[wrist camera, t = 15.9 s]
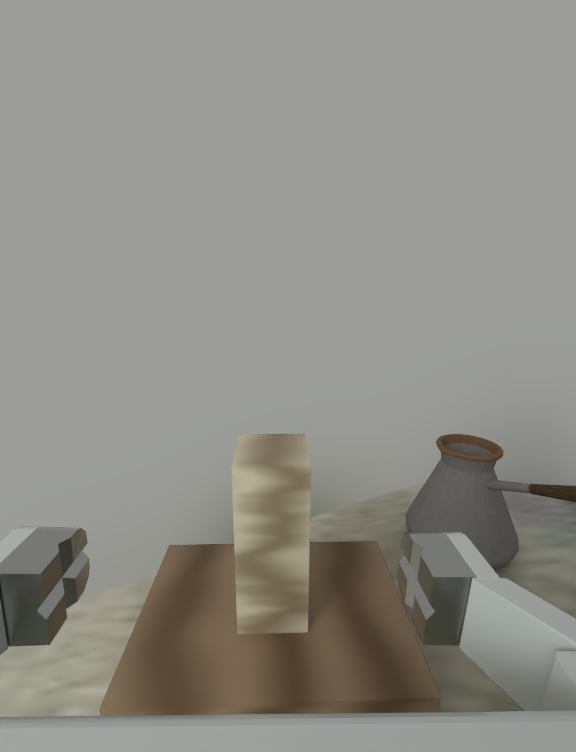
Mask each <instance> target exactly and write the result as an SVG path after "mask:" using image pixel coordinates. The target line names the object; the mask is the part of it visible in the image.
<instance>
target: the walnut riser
mask: <svg viewBox="0 0 576 752" xmlns="http://www.w3.org/2000/svg"><path fill="white" fill-rule="evenodd" d="M440 698H441V697H440V695H439V692H438V690H437V688H436V685H435V683H434V680H433V678H432V675H431V673H430V670H429V668H428V666H427V663H426V661H425V658H424V656H423V653H422V651H421V648H420V646H419V644H418V641H417V639H416V636H415V634H414V631H413V629H412V626H411V624H410V622H409V619H408V617H407V614H406V612H405V609H404V607H403V604H402V602H401V600H400V597H399V595H398V592H397V590H396V587H395V585H394V582H393V580H392V578H391V575H390V573H389V570H388V568H387V565H386V563H385V560H384V558H383V556H382V553H381V551H380V548H379V546H378V543H377V541H360V542H310V547H309V603H308V632H304V633H266V634H237V610H236V581H235V551H234V544H208V545H207V544H203V545H169V548H168V550H167V552H166V555H165V557H164V559H163V562H162V564H161V566H160V569H159V571H158V573H157V576H156V578H155V580H154V583H153V585H152V587H151V590H150V592H149V594H148V597H147V599H146V601H145V604H144V606H143V608H142V611H141V613H140V615H139V618H138V620H137V622H136V625H135V627H134V629H133V632H132V634H131V636H130V639H129V641H128V643H127V646H126V648H125V650H124V653H123V655H122V657H121V660H120V662H119V664H118V667H117V669H116V671H115V674H114V676H113V678H112V681H111V683H110V685H109V688H108V690H107V692H106V695H105V697H104V699H103V702H102V704H101V706H100V716H135V715H222V714H314V713H421V712H439V706H440Z"/></svg>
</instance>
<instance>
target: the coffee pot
mask: <svg viewBox="0 0 576 752" xmlns="http://www.w3.org/2000/svg"><path fill="white" fill-rule="evenodd" d="M436 443H437V446H438V448H439V449H440V451H441V457H442V458H441V460H440V461H439V463H438V464H437V466H436V467H435V469H434V470H433V472H432V473H431V475H430V476H429V478H428V480H427V481H426V483H425V484H424V486H423V487H422V489H421V490H420V492H419V493H418V495H417V497H416V498H415V500H414V501H413V503H412V504H411V506H410V508H409V509H408V511H407V513H406V525H407V527H408V530H409V532H410V533H442V532H461V533H463V534H465V535H466V536H467V537H468V539H469V540H470V541H471V542H472V543H473V545H474V546H475V547H476V548H477V550H478V551H479V552H480V553H481V555H482V556H483V557H484V558H485V560H486V561H487V562H488V563H489V565H490V566H491V567H492V568H493V570H497V569H500V568H502V567H504V566H505V565H507V564H508V563H509V562H510V561H511V560H512V559H513V558H514V557H515V555H516V553H517V552H518V538H517V535H516V532H515V529H514V526H513V523H512V520H511V517H510V514H509V512H508V509H507V506H506V503H505V500H504V497H503V494H502V491H501V490H504V491H514V492H524V493H531V494H534V495H540V496H545V497H551V498H556V499H562V500H567V501H573V502H576V486H562V485H540V484H530V485H529V484H521V483H514V482H506V481H498V480H497V477H496V474H495V471H494V466H495V463H496V461H497V460H498V459H500V458H501V457H502V456H503V450H502V449H501V447H500V446H498V445H497V444H495V443H493V442H491V441H488V440H486V439H483V438H479V437H475V436H470V435H462V434H451V435H444V436H441V437H439V438H438V440H437V441H436Z"/></svg>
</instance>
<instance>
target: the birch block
mask: <svg viewBox="0 0 576 752" xmlns="http://www.w3.org/2000/svg"><path fill="white" fill-rule="evenodd" d="M310 490H311V461H310V457H309V451H308V446H307V442H306V437H305V434H250V435H249V434H242V435H241V434H240V435H239V438H238V442H237V446H236V450H235V454H234V457H233V461H232V492H233V518H234V519H233V521H234V551H235V581H236V610H237V634H266V633H304V632H308V603H309V547H310V492H311V491H310Z"/></svg>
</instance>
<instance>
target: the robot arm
mask: <svg viewBox="0 0 576 752" xmlns="http://www.w3.org/2000/svg"><path fill="white" fill-rule="evenodd" d="M86 544H87V538H86V531H85V530H83V529H82V528H63V527H25V526H22V527H19V528H15V529H14V530H13V531H12V532H11V533H9V534H8V535H7V536H6V537H5V538H4V539H3V540H2V541H1V542H0V655H1V654H2V653H3V652H5V651H6V650H7V649H8V646H33V645H50V643H51V642H52V640H53V639H54V637H55V636H56V634H57V632H58V631H59V629H60V628H61V626H62V625H63V623H64V622H65V620H66V618H67V614H66V609H67V608H68V607H70V606H71V605H73V604H74V603H76V602H77V601H78V600H79V598H80V596H81V595H82V593H83V591H84V589H85V586H86V583H87V580H88V576H89V558H88V557H87V556H86V555H85V554H84V553H83V551H82V550H83V548H84V547H85V546H86ZM401 548H402V550H403V552H404V554H405V555H404V557H403V558H402V559H401V560H400V561H399V566H398V580H399V587H400V591H401V594H402V597H403V599H404V602H405V603H406V604H407V605H408V606H410V607H411V608H412V609H413V612H412V621H413V623H414V625H415V628H416V630H417V632H418V635H419V637H420V639H421V641H422V644H428V645H460V646H459V648H460V649H461V650H462V651H463V652H464V653H465V654H466V655H467V656H468V657H470V658H471V659H472V660H473V661H474V662H475V663H476V664H477V665H478V666H479V667H480V668H481V669H482V670H483V671H484V672H485V673H486V674H487V675H488V676H489V677H490V678H491V679H492V680H493V681H494V682H495V683H496V684H497V685H498V686H499V687H500V688H501V689H502V690H503V691H504V692H506V693H507V694H508V695H509V696H510V697H511V698H512V699H513V700H514V701H515V702H516V703H517V704H518V705H519V706H520V707H521V708H522V709H523V710H524V711H499V712H421V713H314V714H222V715H135V716H46V717H0V752H576V619H575V618H574V617H572V616H570V615H569V614H567V613H565V612H563V611H562V610H560V609H558V608H557V607H555V606H553V605H551V604H550V603H548V602H546V601H545V600H543V599H541V598H539V597H538V596H536V595H534V594H533V593H531V592H529V591H527V590H526V589H524V588H522V587H521V586H519V585H517V584H515V583H514V582H512V581H510V580H509V579H507V578H500V577H499V576H498V575H497V573H496V572H495V571H494V570H493V568H492V567H491V566H490V565H489V563H488V562H487V561H486V560H485V558H484V557H483V556H482V555H481V553H480V552H479V551H478V550H477V548H476V547H475V546H474V545H473V543H472V542H471V541H470V540H469V539H468V537H467V536H466V535H465V534H463V533H461V532H442V533H404V535H403V537H402V542H401Z"/></svg>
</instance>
